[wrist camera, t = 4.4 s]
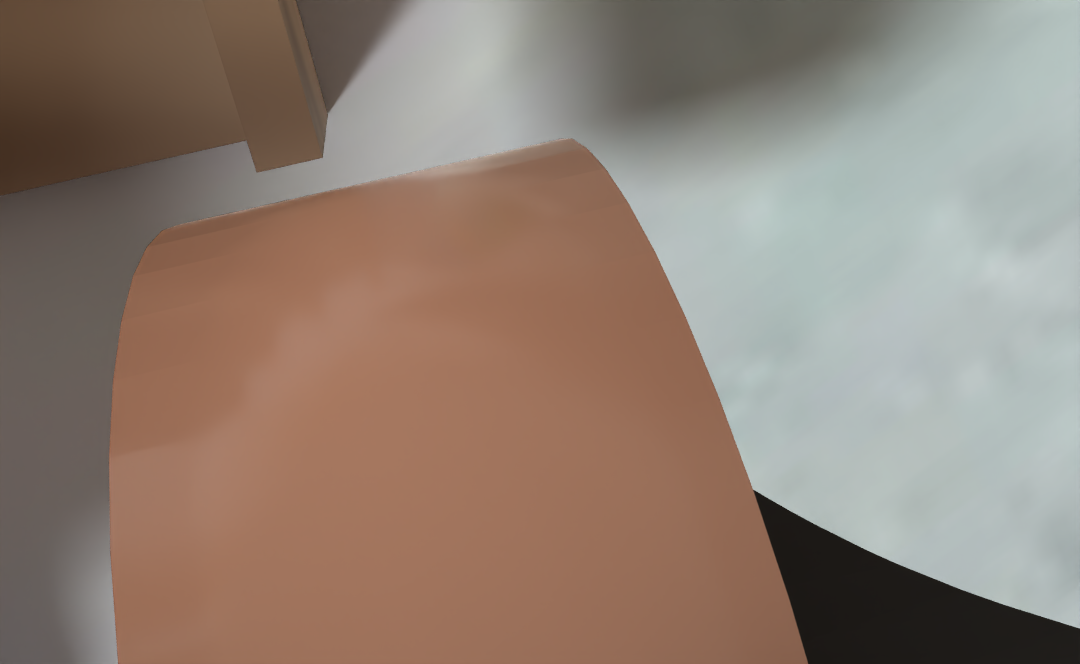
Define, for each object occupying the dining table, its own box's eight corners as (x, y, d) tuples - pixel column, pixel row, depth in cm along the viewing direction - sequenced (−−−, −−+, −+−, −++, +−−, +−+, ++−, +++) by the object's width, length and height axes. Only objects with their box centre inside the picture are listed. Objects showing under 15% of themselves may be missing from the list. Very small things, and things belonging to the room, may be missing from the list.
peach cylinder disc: (612, 639, 15) (911, 1431, 7) (397, 698, 15) (459, 1602, 7) (503, 74, 12) (859, 385, 4) (218, 137, 11) (-104, 634, 3)
